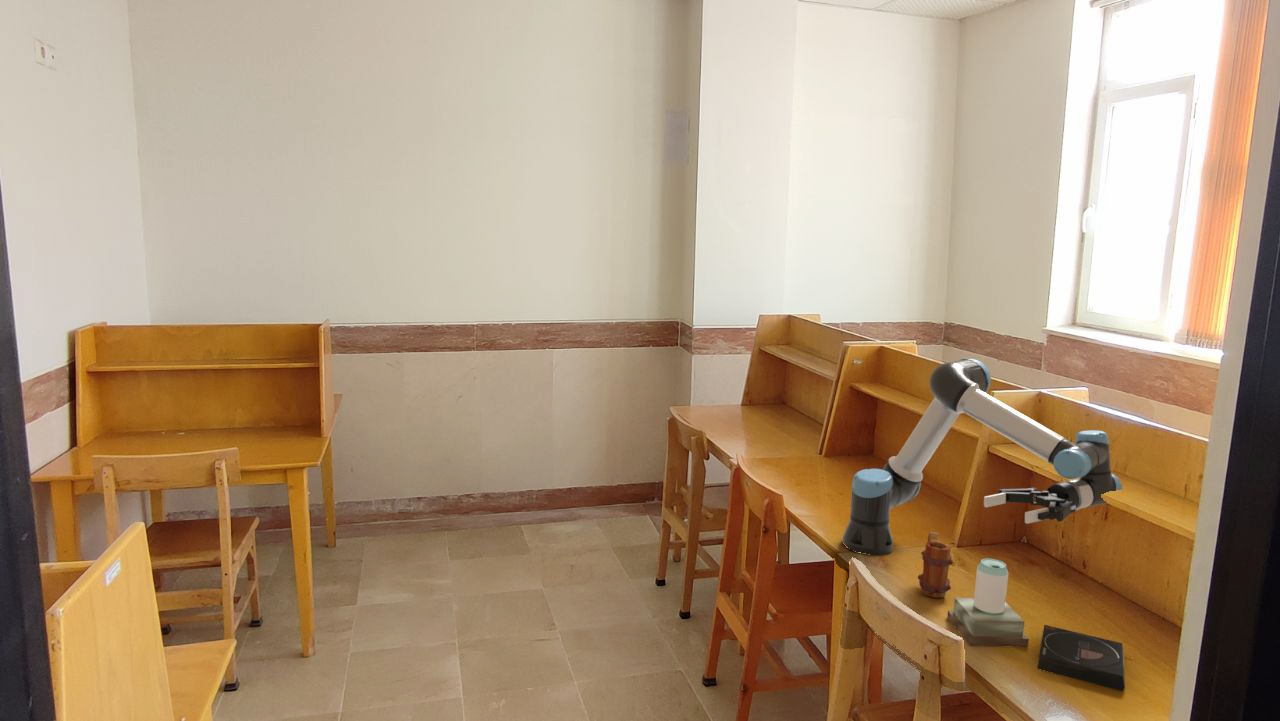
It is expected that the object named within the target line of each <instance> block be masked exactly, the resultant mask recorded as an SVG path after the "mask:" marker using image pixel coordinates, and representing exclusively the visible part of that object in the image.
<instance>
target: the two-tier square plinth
mask: <svg viewBox="0 0 1280 721" xmlns="http://www.w3.org/2000/svg"><path fill="white" fill-rule="evenodd" d="M973 602H974V597H954V602H953V603H954V604H953V610H950V609H949V610H947V614H946V615H947V617H946V619H948V621H949V620H950V621H951V622H952V623H951V622H950V621H949V622H950V623H951V624H952V625H954V626H955V627H956V628H955V627H954V626H953V627H954V628H955V630H956V631H957V632H958V631H959V632H960V633H959V632H958V633H959V634H960V635H961V634H962V635H961V637H962V636H963V637H962V638H963V639H964V641H965V642H966V643H967V644H968V645H969V647H1003V646H1020V647H1019V648H1023V647H1022V646H1025V647H1024V648H1029V641H1030V639H1029V638H1028V636H1026V635H1025V634H1024V630H1025V620H1024V619H1023V618H1022V617H1021V616H1020V615H1019V614H1018V613H1017V612H1016V611H1015V610H1014V609H1013V608H1012V607H1011V606H1010V605H1009V604H1008V603H1007V602H1006V601H1005V608H1004V611H1003V612H1001V613H999V614H987V613H984V612H981V611H980V610H978V609H977V608H976V607H975V606H974V604H973Z"/></svg>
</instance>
